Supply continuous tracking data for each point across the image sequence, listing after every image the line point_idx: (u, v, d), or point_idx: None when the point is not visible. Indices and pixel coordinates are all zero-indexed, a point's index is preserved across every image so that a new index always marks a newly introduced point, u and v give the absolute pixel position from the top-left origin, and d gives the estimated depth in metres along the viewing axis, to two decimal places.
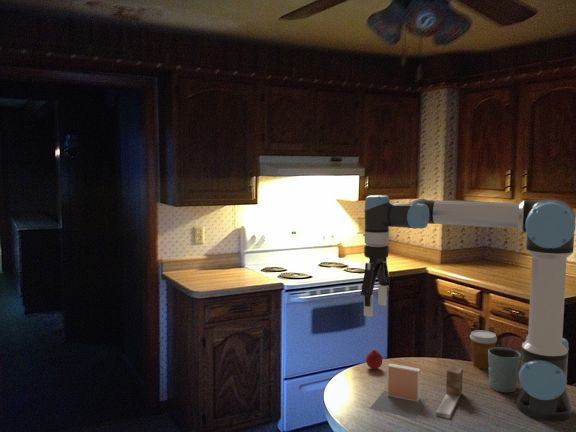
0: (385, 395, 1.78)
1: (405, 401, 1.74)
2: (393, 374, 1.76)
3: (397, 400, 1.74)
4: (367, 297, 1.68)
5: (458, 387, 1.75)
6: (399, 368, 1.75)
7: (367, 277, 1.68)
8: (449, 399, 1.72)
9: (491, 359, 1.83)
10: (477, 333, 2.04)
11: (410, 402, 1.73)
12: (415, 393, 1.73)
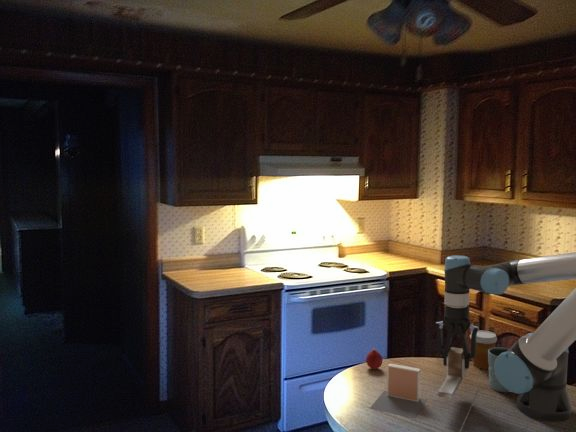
0: (385, 395, 1.78)
1: (405, 401, 1.74)
2: (393, 374, 1.76)
3: (397, 400, 1.74)
4: None
5: (460, 368, 1.74)
6: (399, 368, 1.75)
7: None
8: (451, 380, 1.71)
9: (491, 359, 1.83)
10: (477, 333, 2.04)
11: (410, 402, 1.73)
12: (415, 393, 1.73)
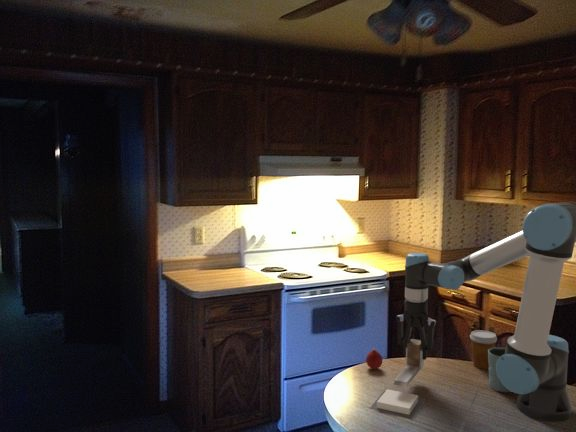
0: None
1: None
2: None
3: None
4: None
5: (418, 358, 1.84)
6: (389, 410, 1.68)
7: None
8: (409, 369, 1.82)
9: (491, 359, 1.83)
10: (477, 333, 2.04)
11: None
12: None
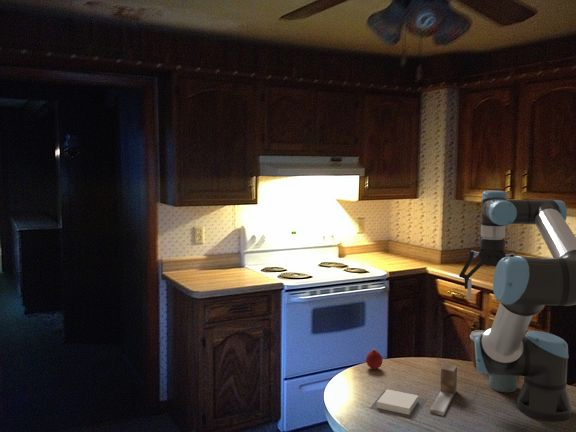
0: None
1: None
2: None
3: None
4: None
5: (452, 385, 1.76)
6: (389, 410, 1.68)
7: None
8: (443, 397, 1.74)
9: None
10: (477, 333, 2.04)
11: None
12: None
